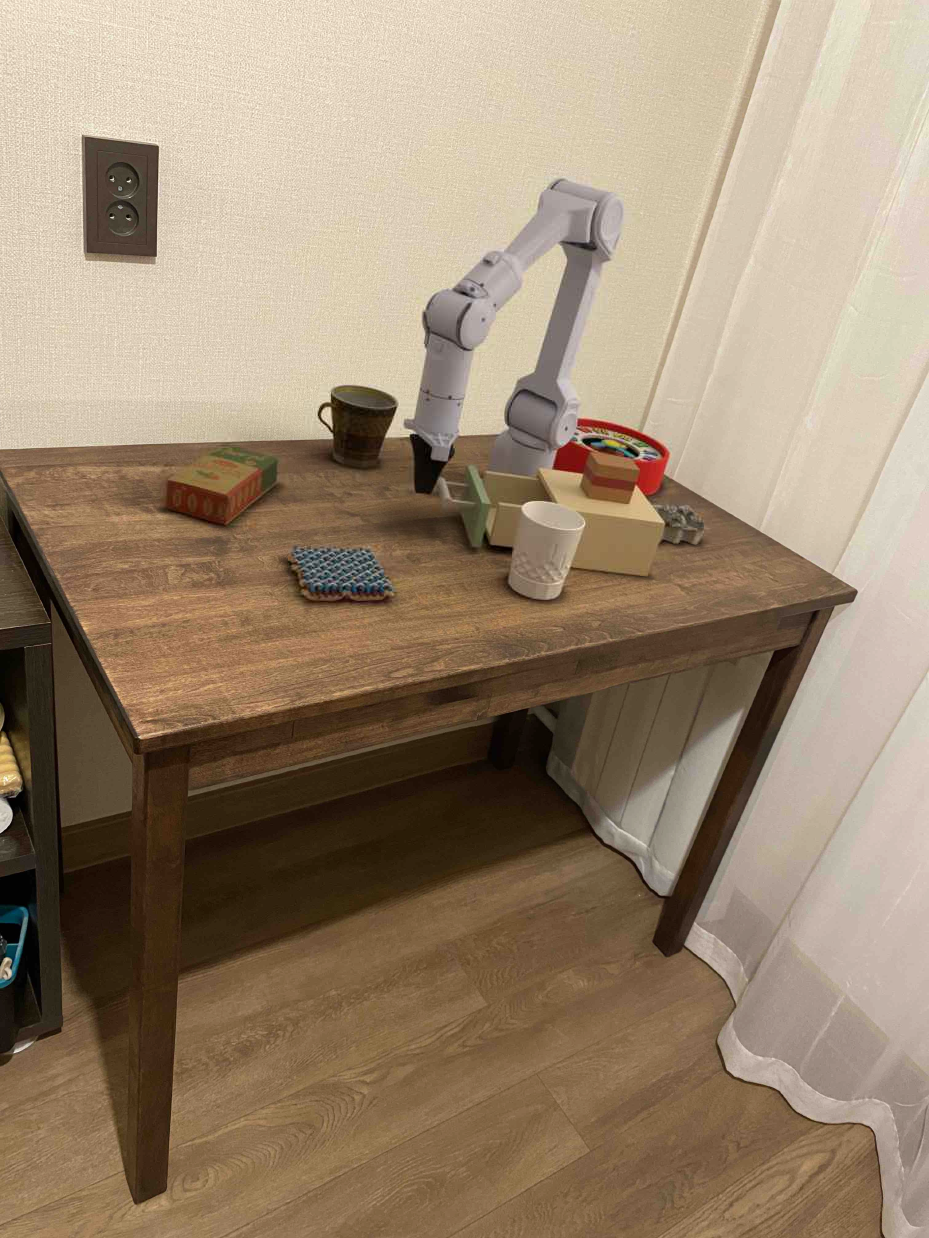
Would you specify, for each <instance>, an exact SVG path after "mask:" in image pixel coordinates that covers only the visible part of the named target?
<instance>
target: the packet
mask: <svg viewBox="0 0 929 1238" xmlns="http://www.w3.org/2000/svg"><path fill="white" fill-rule="evenodd" d="M639 472H640V469H639V468H638V467H637V466H636V464H635V463H634V462H633V461H632V459H631V458H626V457H620V456H613V455H607V454H600V453H594V452H589V456H588V459H587V463H586V465H585V469H584V472H583V477H582V480H581V484H580V486H581V488H582V490H583V491H584V493H585V494H586V496H587V497H588V498H589V499H596V500H603V501H610V502H617V503H625V504H629V503H630V500H631V497H632V494H633V491H634V489H635V486H636V481H637V478H638V475H639Z"/></svg>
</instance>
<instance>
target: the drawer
mask: <svg viewBox="0 0 929 1238" xmlns="http://www.w3.org/2000/svg"><path fill="white" fill-rule="evenodd" d="M480 476H481V475H480V474H479V472H478V469H477V466H476V465H472V464H467V465H466V469H465V473H464V478H463V482H462V483H460V482H453V481H446V479H445V478H444V477H440V476H439V478H438V480H437V482H436V485H435V487H436V490H437V494H438V497H439V501H440V504H441V507H443V508H445V509H448V508H451V507H452V506H455V507H458V509H459V512H460V516H461V518H462V522H463V525H464V527H465V531H466V533H467V537H468V539H469V542H470V546H471V547H472V548H480V549H481V547H482V542H483V539H484V534H485V535H486V538H487V540H488V543H489V545H491V546H498V547H499V546H500V547H506V548H507V547H508V548H513V547H514V543H515V536H516V532H517V527H518V522H519V517H520V513H521V508H522V506H523V505H524V504H525V503H527V502H531V501H545V502H551V503H553V501H552V500H551V498H550V496H549V494H548V492H547V490H546V489H545V487H544V485H543V483H542V481H541V479H540V478H533V477H526V476H519V475H512V474H505V473H498V472H491V471H487V470H484V473H483V478H481V477H480ZM482 479H483V482H482V481H481V480H482ZM449 488H450V489H452V488H453V489H457V490H458V489H459V490H461V491H460V495H459V499H452V497H451V494H450V492H449V491H450V490H449Z"/></svg>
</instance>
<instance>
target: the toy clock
mask: <svg viewBox="0 0 929 1238" xmlns="http://www.w3.org/2000/svg"><path fill="white" fill-rule="evenodd" d="M577 419H578V421H577V427H576V430H575V433H574V435H573V437H572V438H571V440H570V441H569V442H568V443H567V444H566V445H564V446H563V447H562V448H558V449H557V453H556V457H555V460H554V464H553V468H552V470H559V471H566V472H572V473H579V474H583V472H584V469H585V465H586V463H587V459H588V456H589V452H594V453H600V454H607V455H613V456H620V457H626V458H631V459H632V461H633V462H634V463H635V464H636V466H637V467H638V468H639V469H640V472H639V475H638V478H637V481H636V485H637V487H638V488H639V489H640V491H641V492H642V493H643V495H644V496H649V495H652V494H654V493H656V492H657V491H659V489H660V486H661V483H662V480H663V477H664V475H665V470H666V468H667V465H668V463H669V459H670V455H671V454H670V451H669V449H668V448H667V447H666V446H665V445H664V444H662V442H660V441H658V440H657V439H655V438H654V437H651V436H650V435H647V434H646V433H643V432H640V431H639V430H635V429H633V428H630V427H628V426H623V425H621V424H618V423H613V422H609V421H604V420H598V419H590V418H583V417H582V418H579V417H577Z"/></svg>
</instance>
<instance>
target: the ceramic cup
mask: <svg viewBox="0 0 929 1238" xmlns="http://www.w3.org/2000/svg"><path fill="white" fill-rule="evenodd" d="M398 406H399V400H398V399H397V398H396V397H395V396H393V395H392V394H390V393H388V392H385V391H383V390H380V389H378V388H373V387H369V386H364V385H354V384H343V385H341V384H340V385H337V386H334V387H332V388H331V389H330V401H325V402H323V403H321V404H320V405H319V408H318V410H317V418H318V420H319V421H320V423H321V424H322V425H324V426H325V427H326V428H327V429H328V431H329V432H330V434H332V450H333V451H332V457H333V460H335V461H336V462H338V463H340V464H341V465H343V466H347V467H352V468H356V469H365V468H373V467H375V466H376V464H377V461H378V458H379V456H380V453H381V450H382V446H383V444H384V441H385V439H386V436H387V433H388V431H389V429H390V427H391V425H392V423H393V420H394V417H395V416H396V413H397V409H398ZM326 408H330V413H331V424H332V427H331V426H330V425H329V423H328V422H326V421H325V420H324V419H323V417H322V412H323V410H325V409H326Z"/></svg>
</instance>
